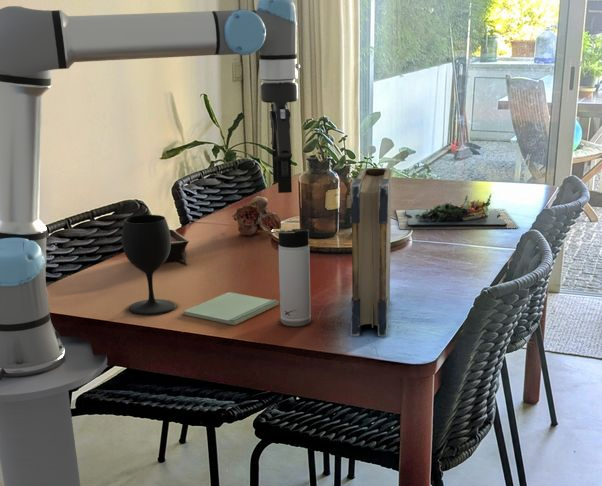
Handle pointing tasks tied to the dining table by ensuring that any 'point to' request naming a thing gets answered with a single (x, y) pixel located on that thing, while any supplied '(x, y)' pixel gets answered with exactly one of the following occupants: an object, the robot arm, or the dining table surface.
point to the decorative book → (370, 249)
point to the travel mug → (294, 277)
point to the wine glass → (147, 256)
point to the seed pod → (256, 217)
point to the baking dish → (177, 248)
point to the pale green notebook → (231, 308)
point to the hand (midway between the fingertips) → (282, 186)
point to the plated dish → (455, 217)
